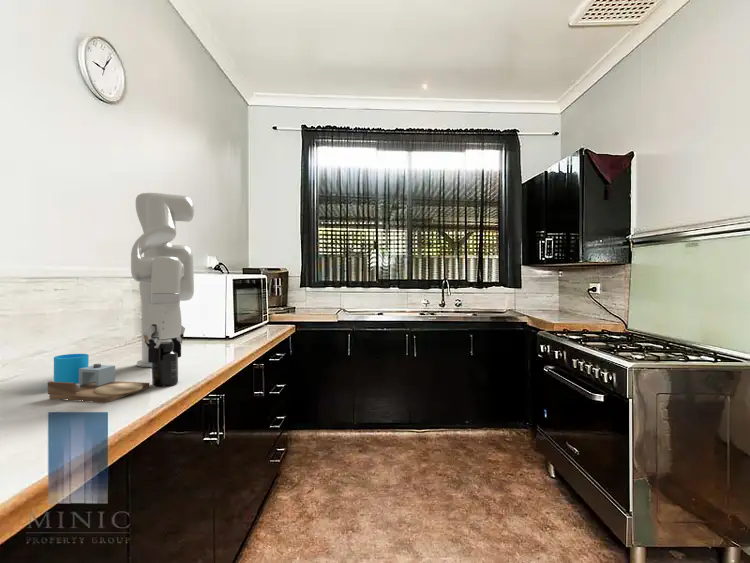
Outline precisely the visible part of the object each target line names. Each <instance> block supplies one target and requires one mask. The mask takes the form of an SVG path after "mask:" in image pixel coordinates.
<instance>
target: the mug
mask: <svg viewBox="0 0 750 563" xmlns="http://www.w3.org/2000/svg"><path fill="white" fill-rule="evenodd" d="M89 363H90V362H89V354H87V353H67V354H60V355H55V356H54V357H53V382H70V383H76V384H79V369H81V368H85V367H89Z"/></svg>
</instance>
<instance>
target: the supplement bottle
mask: <svg viewBox="0 0 750 563" xmlns="http://www.w3.org/2000/svg"><path fill="white" fill-rule="evenodd" d="M158 348H160V362H159V363H152V367H151V384H152V386H153V387H158V388H159V387H160V388H163V387H171V386H174V385H175V386H176V385H177V384H178V383H179V357H178V354H177V352H175V351H173V349H174V342H161V343H160V345H159V347H158Z"/></svg>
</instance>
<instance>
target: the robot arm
mask: <svg viewBox="0 0 750 563" xmlns="http://www.w3.org/2000/svg"><path fill="white" fill-rule="evenodd" d="M193 203H194V202H193V200H192V198H190V197H189V196H187V195H181V194H171V193H159V192H142V193H140V194H138V195H137V196H136V197H135V211H136V214H137V219H138V221H139V223H140V226H141V229H142V231H143V233H142V234H141V235H140V236H139V237H138V238H137V239H136V240H135V241H134V243H133V245H132V248H131V251H130V271H131V276H132V278H133V280H134V281H136V282H138V283H139V287H138V289H139V293H140V294H139V295H140V302H141V324H142V325H141V359H140V360H138V361H136V366H137V367H143V368H152V363H159V362H160V348H158V347H159V345H160V343H161V342H174V349H173V351H175V352H177V354H178V358H181V357H182V344H183V339H184V334H185V331H186V327H184V326H183V325H182V313H181V312H182V311H181V306H180V305H181V303H180V302H182V301H183V302H185V301H186V302H187V301H191V299H192V298H193V297H194V292H195V284H194V282H195V281H194V277H195V276H194V257H193V256H194V255H193V251H192V249H191V247H189V246H186V245H183V244H179V245H178V244H171V242H172V241H174V240H175V238H176V237H177V226H176V222H187V223H188V222H191V221H192V220H193V218H194V216H195V214H194V213H195V208H194V207H195V206H194V204H193ZM142 255H143V256H142Z"/></svg>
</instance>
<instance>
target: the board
mask: <svg viewBox="0 0 750 563" xmlns="http://www.w3.org/2000/svg"><path fill="white" fill-rule="evenodd" d="M150 387H151V386H150V382H142V381H140V382H139V381H123V380H122V381H119V380H115V381H113V382H110V383H107V384H103V385H100V386H95V381H94V382H91V383H87V384H84V385H80V384H76V383H70V382H54V381H48V382H47V395H49V396H48V398H49V400H53V399H68V400H67V401H69V400H81V401H80V402H85V401H93V402H92V403H101V402H102V403H101V404H107V403H111V402H112V401H116V400H118V399H121V398H124V397H126V396H129V395H132V394H135V393H137V392H140V391H142V390H146V389H148V388H150ZM82 400H83V401H82Z"/></svg>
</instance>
